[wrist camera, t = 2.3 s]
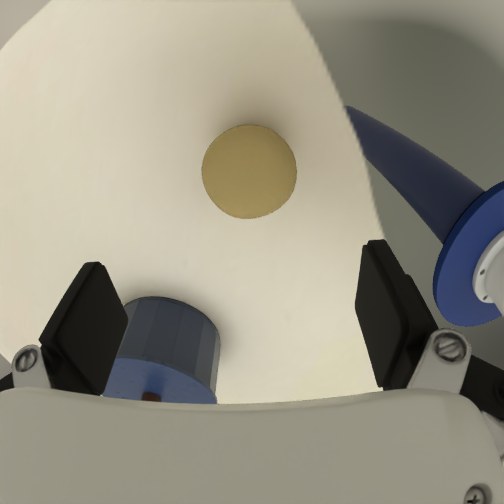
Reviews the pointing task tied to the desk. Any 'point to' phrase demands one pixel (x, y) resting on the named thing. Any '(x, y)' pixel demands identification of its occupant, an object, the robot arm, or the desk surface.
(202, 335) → the pot
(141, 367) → the pot lid
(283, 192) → the light bulb
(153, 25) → the desk surface
